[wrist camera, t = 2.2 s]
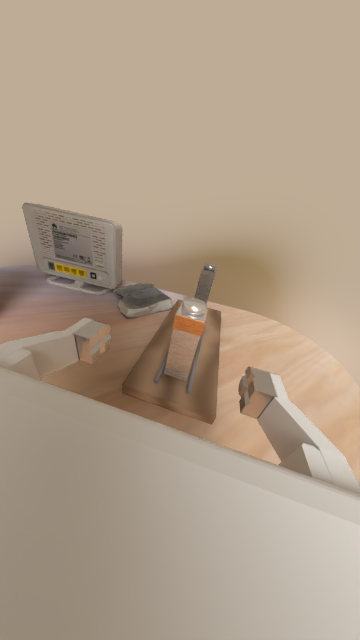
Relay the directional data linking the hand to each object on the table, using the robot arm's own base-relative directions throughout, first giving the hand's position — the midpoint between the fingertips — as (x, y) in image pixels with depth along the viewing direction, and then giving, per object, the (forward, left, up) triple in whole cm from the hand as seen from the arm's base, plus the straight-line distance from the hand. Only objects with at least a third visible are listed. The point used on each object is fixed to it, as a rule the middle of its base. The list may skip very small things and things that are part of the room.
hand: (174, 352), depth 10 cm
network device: (-39, +37, -18) cm, 56 cm away
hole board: (0, +24, -17) cm, 30 cm away
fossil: (-18, +36, -18) cm, 44 cm away
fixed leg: (0, +38, -15) cm, 41 cm away
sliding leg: (0, +12, -15) cm, 20 cm away
